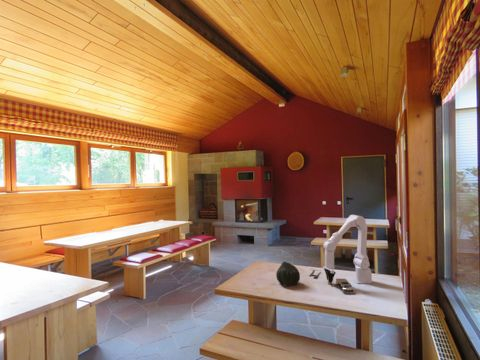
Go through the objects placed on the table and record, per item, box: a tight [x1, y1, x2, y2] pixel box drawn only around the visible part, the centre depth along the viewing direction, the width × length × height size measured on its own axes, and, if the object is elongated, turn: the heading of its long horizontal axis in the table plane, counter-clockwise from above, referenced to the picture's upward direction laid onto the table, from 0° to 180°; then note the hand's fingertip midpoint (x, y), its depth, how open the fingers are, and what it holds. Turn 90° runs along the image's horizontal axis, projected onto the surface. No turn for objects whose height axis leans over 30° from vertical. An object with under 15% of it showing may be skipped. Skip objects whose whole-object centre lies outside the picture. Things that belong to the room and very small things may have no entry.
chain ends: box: [335, 278, 355, 295], centre depth 184 cm, size 6×17×4 cm, turn 178°
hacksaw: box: [309, 268, 322, 280], centre depth 216 cm, size 24×10×2 cm, turn 152°
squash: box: [275, 261, 301, 287], centre depth 195 cm, size 14×15×15 cm
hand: (329, 281), depth 193 cm, fingers open, 4 cm apart
